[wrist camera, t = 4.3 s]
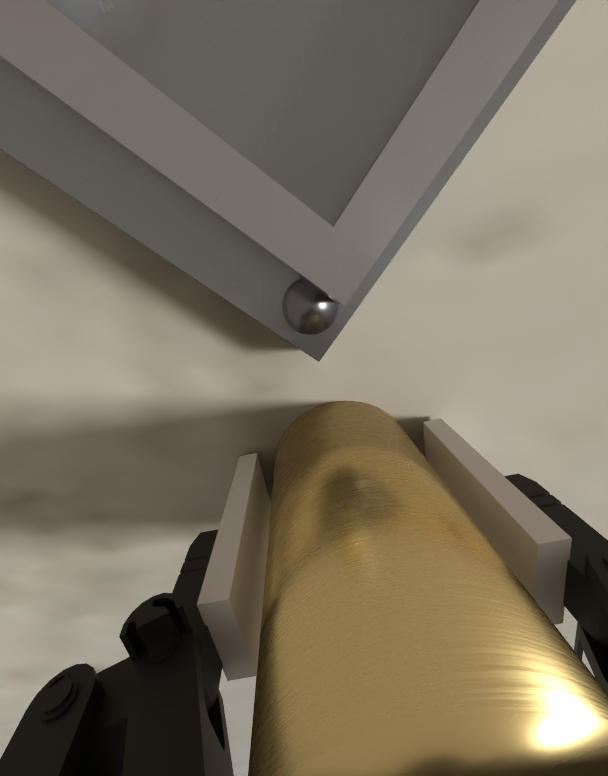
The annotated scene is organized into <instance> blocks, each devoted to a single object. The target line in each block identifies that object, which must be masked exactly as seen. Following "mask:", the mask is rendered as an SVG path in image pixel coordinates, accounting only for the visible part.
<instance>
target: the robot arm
mask: <svg viewBox="0 0 608 776" xmlns="http://www.w3.org/2000/svg"><path fill="white" fill-rule="evenodd" d="M423 430H424V444H425V458H426V460H427V461H428V462H429V464H430V465H431V466H432V467H433V469H434V470H435V471H436V473H437V474H438V475H439V476H440V478H441V479H442V480H443V482H444V483H445V484H446V486H447V487H448V488H449V489H450V491H451V492H452V493H453V495H454V496H455V497H456V499H457V500H458V501H459V502H460V504H461V505H462V506H463V508H464V509H465V510H466V511H467V513H468V514H469V515H470V517H471V518H472V519H473V521H474V522H475V523H476V524H477V526H478V527H479V528H480V530H481V531H482V532H483V533H484V535H485V536H486V537H487V539H488V540H489V541H490V543H491V544H492V545H493V546H494V548H495V549H496V550H497V552H498V553H499V554H500V556H501V557H502V558H503V559H504V561H505V562H506V563H507V565H508V566H509V567H510V568H511V570H512V571H513V572H514V574H515V575H516V576H517V578H518V579H519V580H520V581H521V583H522V584H523V585H524V587H525V588H526V589H527V590H528V592H529V593H530V594H531V596H532V597H533V598H534V600H535V601H536V602H537V603H538V605H539V606H540V607H541V609H542V610H543V611H544V613H545V614H546V615H547V616H548V618H549V619H550V620H551V622H552V623H553V624H560V623H563V616H564V607H566V608H567V609H568V611H569V612H570V613H571V614H572V615H573V616H574V618H575V619H576V620H577V621H578V623H577V631H576V639H575V646H574V651H575V653H576V654H577V655H578V657H579V658H580V659H581V660H582V654H583V650H584V652H585V655H586V657H587V659H588V662H589V664H590V666H591V669H592V671H593V673H594V676H595V678H596V680H597V681H598V682H599V684H600V685H601V686H602V688H603V689H604V690H605V692H606V693H607V694H608V540H607V539H605V538H604V537H603V536H602V535H600V534H599V533H598V532H597V531H596V530H594V529H593V528H592V527H591V526H589V525H588V524H587V523H586V522H585V521H583V520H582V519H581V518H580V517H578V516H577V515H576V514H575V513H574V512H572V511H571V510H570V509H569V508H567V507H566V506H565V505H562V504H561V502H560V501H559V500H558V499H556V498H555V497H554V496H553V495H550V493H549V492H548V491H547V490H545V489H544V488H543V487H542V486H540V485H539V484H538V483H537V482H535V481H533V480H531V479H529V478H527V477H524V476H522V475H520V474H514V475H509V476H503V475H502V474H501V473H500V472H499V471H498V470H497V469H495V468H494V467H493V466H492V465H491V464H490V463H489V462H488V461H487V460H486V459H485V458H483V457H482V456H481V455H480V454H479V453H478V452H477V451H476V450H475V449H474V448H472V447H471V446H470V445H469V444H468V443H467V442H466V441H465V440H464V439H463V438H462V437H460V436H459V435H458V434H457V433H456V432H455V431H454V430H453V429H452V428H451V427H449V426H448V425H447V424H446V423H445V422H444V421H443V420H442V419H436V420H431V421H425V422H423ZM270 512H271V503H270V499H269V495H268V492H267V488H266V484H265V480H264V477H263V473H262V469H261V465H260V462H259V458H258V454H257V453H254V454H248V455H243V456H240V457H239V460H238V464H237V467H236V471H235V474H234V478H233V481H232V484H231V488H230V491H229V495H228V498H227V502H226V505H225V509H224V512H223V516H222V519H221V523H220V526H219V529H218V530H213V531H207V532H202V533H200V534H199V535H198V537H197V538H196V539H195V540H194V542H193V543H192V544H191V545H190V548H189V550H188V553H187V555H186V558H185V563H183V566H182V569H181V571H180V572H181V574H180V575H179V577H178V579H177V582H176V585H175V587H174V590H173V592H172V593H162V594H159V595H156V596H153V597H151V598H150V599H148V600H146V601H145V602H143V603H142V604H141V605H139V606H138V607H137V608H136V609H135V610H134V611H133V612H132V613H131V614H130V616H129V617H128V619H127V620H126V622H125V623H124V625H123V627H122V630H121V633H120V636H119V637H120V639H121V641H122V642H123V644H124V646H125V648H126V650H127V652H128V654H129V655H130V657H128V658H127V659H125V660H123V661H121V662H119V663H117V664H115V665H113V666H111V667H109V668H107V669H105V670H103V671H101V672H99V673H96V671H95V670H94V668H93V667H91V666H90V665H88V664H76V665H74V666H72V667H70V668H67V669H65V670H63V671H62V672H60V673H59V674H58V675H57V676H55V677H54V678H53V679H51V680H50V681H49V682H48V683H47V684H46V685H45V686H44V687H43V688H42V689H41V690H40V691H39V692H38V694H37V695H36V696H35V698H34V699H33V701H32V702H31V704H30V705H29V707H28V708H27V710H26V712H25V714H24V716H23V717H22V719H21V721H20V723H19V725H18V727H17V729H16V731H15V732H14V734H13V736H12V738H11V740H10V742H9V744H8V746H7V748H6V749H5V751H4V753H3V755H2V757H1V759H0V776H234V775H233V768H232V762H231V755H230V748H229V741H228V734H227V727H226V720H225V713H224V706H223V699H222V697H221V694H220V691H219V689H218V688H219V683H220V677H221V671H222V668H223V671H224V673H225V675H226V678H227V680H228V681H229V680H235V679H241V678H246V677H252V676H257V665H258V653H259V642H260V630H261V618H262V606H263V595H264V583H265V571H266V559H267V547H268V536H269V524H270Z"/></svg>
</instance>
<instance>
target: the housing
mask: <svg viewBox="0 0 608 776" xmlns="http://www.w3.org/2000/svg"><path fill="white" fill-rule="evenodd" d="M575 1H576V0H0V149H1V150H3V151H4V152H6V153H7V154H9V155H10V156H12V157H13V158H15V159H16V160H18V161H19V162H21V163H22V164H24V165H25V166H27V167H28V168H30V169H31V170H33V171H34V172H36V173H37V174H39V175H40V176H42V177H43V178H45V179H46V180H48V181H49V182H51V183H52V184H53V185H55V186H56V187H58V188H59V189H61V190H62V191H64V192H65V193H67V194H68V195H70V196H71V197H73V198H74V199H76V200H77V201H79V202H80V203H82V204H83V205H85V206H86V207H88V208H89V209H91V210H92V211H94V212H95V213H97V214H98V215H100V216H101V217H103V218H104V219H106V220H107V221H109V222H110V223H112V224H113V225H115V226H116V227H118V228H119V229H121V230H122V231H124V232H125V233H127V234H128V235H130V236H131V237H133V238H134V239H136V240H137V241H139V242H140V243H142V244H143V245H145V246H146V247H148V248H149V249H151V250H152V251H154V252H155V253H157V254H158V255H160V256H161V257H163V258H164V259H166V260H167V261H169V262H170V263H172V264H173V265H175V266H176V267H178V268H179V269H181V270H182V271H184V272H185V273H187V274H188V275H190V276H191V277H193V278H194V279H196V280H197V281H199V282H200V283H202V284H203V285H205V286H206V287H208V288H209V289H211V290H212V291H214V292H215V293H217V294H218V295H220V296H221V297H223V298H224V299H226V300H227V301H229V302H230V303H232V304H233V305H235V306H236V307H238V308H239V309H241V310H242V311H244V312H245V313H247V314H248V315H250V316H251V317H253V318H254V319H256V320H257V321H259V322H260V323H262V324H263V325H265V326H266V327H268V328H269V329H271V330H272V331H274V332H275V333H277V334H278V335H280V336H281V337H283V338H284V339H286V340H287V341H289V342H290V343H292V344H293V345H295V346H296V347H298V348H299V349H301V350H302V351H304V352H305V353H307V354H308V355H310V356H311V357H313V358H314V359H316V360H317V361H320V360H321V358H322V357H323V356H324V354H325V353H326V351H327V350H328V348H329V347H330V346H331V344H332V343H333V341H334V340H335V339H336V337H337V336H338V334H339V333H340V332H341V330H342V329H343V327H344V326H345V325H346V323H347V322H348V320H349V319H350V318H351V316H352V315H353V313H354V312H355V311H356V309H357V308H358V306H359V305H360V304H361V302H362V301H363V299H364V298H365V296H366V295H367V294H368V292H369V291H370V289H371V288H372V287H373V285H374V284H375V282H376V281H377V280H378V278H379V277H380V275H381V274H382V273H383V271H384V270H385V268H386V267H387V266H388V264H389V263H390V261H391V260H392V259H393V257H394V256H395V254H396V253H397V252H398V250H399V249H400V247H401V246H402V244H403V243H404V242H405V240H406V239H407V237H408V236H409V235H410V233H411V232H412V230H413V229H414V228H415V226H416V225H417V223H418V222H419V221H420V219H421V218H422V216H423V215H424V214H425V212H426V211H427V209H428V208H429V207H430V205H431V204H432V202H433V201H434V200H435V198H436V197H437V195H438V194H439V192H440V191H441V190H442V188H443V187H444V185H445V184H446V183H447V181H448V180H449V178H450V177H451V176H452V174H453V173H454V171H455V170H456V169H457V167H458V166H459V164H460V163H461V162H462V160H463V159H464V157H465V156H466V155H467V153H468V152H469V150H470V149H471V148H472V146H473V145H474V143H475V142H476V140H477V139H478V138H479V136H480V135H481V133H482V132H483V131H484V129H485V128H486V126H487V125H488V124H489V122H490V121H491V119H492V118H493V117H494V115H495V114H496V112H497V111H498V110H499V108H500V107H501V105H502V104H503V103H504V101H505V100H506V98H507V97H508V96H509V94H510V93H511V91H512V90H513V88H514V87H515V86H516V84H517V83H518V81H519V80H520V79H521V77H522V76H523V74H524V73H525V72H526V70H527V69H528V67H529V66H530V65H531V63H532V62H533V60H534V59H535V58H536V56H537V55H538V53H539V52H540V51H541V49H542V48H543V46H544V45H545V44H546V42H547V41H548V39H549V38H550V36H551V35H552V34H553V32H554V31H555V29H556V28H557V27H558V25H559V24H560V22H561V21H562V20H563V18H564V17H565V15H566V14H567V13H568V11H569V10H570V8H571V7H572V6H573V4H574V3H575Z"/></svg>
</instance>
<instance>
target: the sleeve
mask: <svg viewBox="0 0 608 776" xmlns="http://www.w3.org/2000/svg"><path fill="white" fill-rule="evenodd" d="M248 776H608V694H607V693H606V692H605V690H604V689H603V688H602V686H601V685H600V684H599V682H598V681H597V680H596V679H595V677H594V676H593V675H592V673H591V672H590V671H589V670H588V668H587V667H586V666H585V664H584V663H583V662H582V660H581V659H580V658H579V657H578V655H577V654H576V653H575V651H574V650H573V649H572V647H571V646H570V645H569V644H568V642H567V641H566V640H565V638H564V637H563V636H562V635H561V633H560V632H559V631H558V629H557V628H556V627H555V625H554V624H553V623H552V622H551V620H550V619H549V618H548V616H547V615H546V614H545V613H544V611H543V610H542V609H541V607H540V606H539V605H538V603H537V602H536V601H535V600H534V598H533V597H532V596H531V594H530V593H529V592H528V590H527V589H526V588H525V587H524V585H523V584H522V583H521V581H520V580H519V579H518V578H517V576H516V575H515V574H514V572H513V571H512V570H511V568H510V567H509V566H508V565H507V563H506V562H505V561H504V559H503V558H502V557H501V556H500V554H499V553H498V552H497V550H496V549H495V548H494V546H493V545H492V544H491V543H490V541H489V540H488V539H487V537H486V536H485V535H484V533H483V532H482V531H481V530H480V528H479V527H478V526H477V524H476V523H475V522H474V521H473V519H472V518H471V517H470V515H469V514H468V513H467V511H466V510H465V509H464V508H463V506H462V505H461V504H460V502H459V501H458V500H457V499H456V497H455V496H454V495H453V493H452V492H451V491H450V489H449V488H448V487H447V486H446V484H445V483H444V482H443V480H442V479H441V478H440V476H439V475H438V474H437V473H436V471H435V470H434V469H433V467H432V466H431V465H430V464H429V462H428V461H427V460H426V458H425V457H424V456H423V454H422V453H421V452H420V451H419V449H418V448H417V447H416V445H415V444H414V443H413V442H412V440H411V439H410V438H409V436H408V435H407V434H406V432H405V431H404V430H403V429H402V427H401V426H400V425H399V423H398V422H397V421H396V420H395V419H394V418H393V417H392V416H390V415H389V414H388V413H386V412H385V411H383V410H381V409H379V408H377V407H375V406H372V405H370V404H366V403H362V402H355V401H339V402H332V403H328V404H324V405H321V406H319V407H316V408H314V409H312V410H310V411H308V412H306V413H305V414H303V415H302V416H301V417H299V418H298V419H297V420H296V421H295V422H294V423H293V424H292V425H291V426H290V427H289V428H288V429H287V431H286V432H285V434H284V435H283V437H282V438H281V441H280V443H279V445H278V448H277V452H276V457H275V466H274V478H273V490H272V502H271V513H270V525H269V537H268V549H267V560H266V572H265V584H264V596H263V607H262V619H261V631H260V643H259V655H258V666H257V678H256V690H255V702H254V713H253V725H252V737H251V749H250V760H249V772H248Z"/></svg>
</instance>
